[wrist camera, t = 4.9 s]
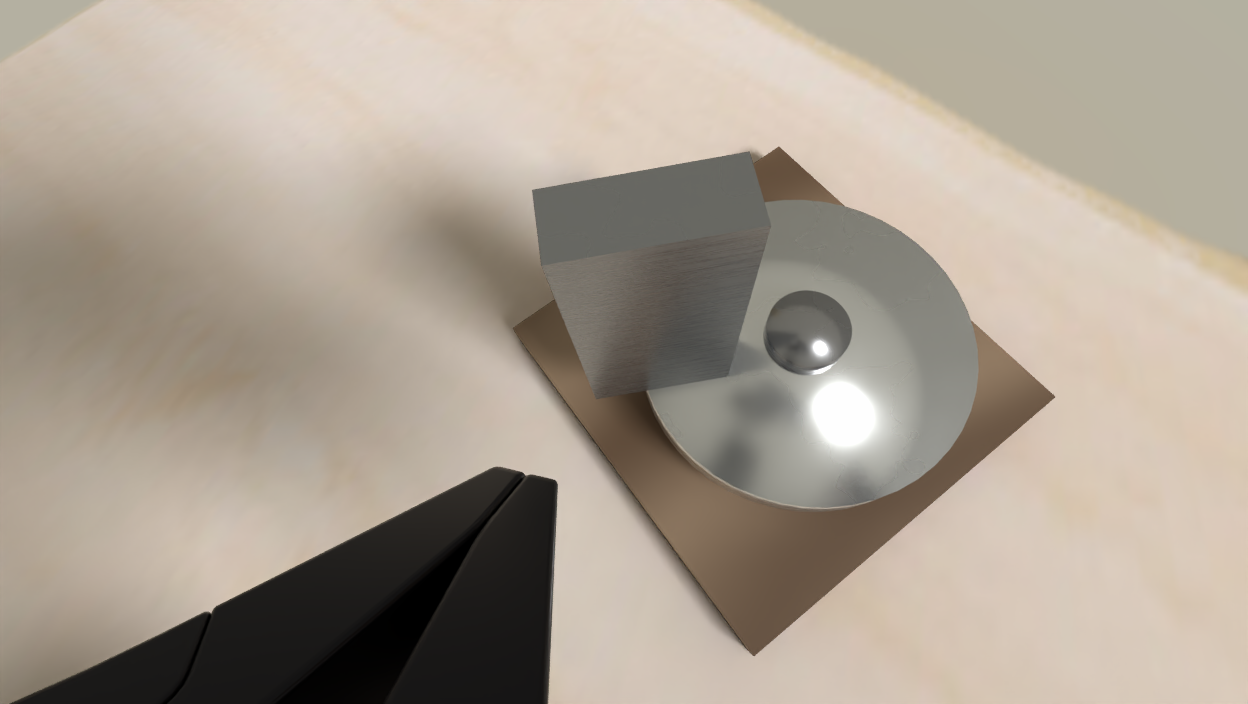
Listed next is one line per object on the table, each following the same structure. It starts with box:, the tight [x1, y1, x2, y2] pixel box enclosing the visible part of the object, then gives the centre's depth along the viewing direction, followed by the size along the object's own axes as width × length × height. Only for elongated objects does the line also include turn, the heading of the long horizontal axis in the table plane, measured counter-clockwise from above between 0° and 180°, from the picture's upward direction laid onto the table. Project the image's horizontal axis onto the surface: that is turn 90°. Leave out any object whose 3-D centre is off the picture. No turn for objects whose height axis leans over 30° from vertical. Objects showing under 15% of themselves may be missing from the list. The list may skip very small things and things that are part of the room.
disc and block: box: [532, 152, 979, 512], centre depth 15 cm, size 12×10×9 cm
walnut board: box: [513, 147, 1055, 656], centre depth 19 cm, size 13×13×5 cm
